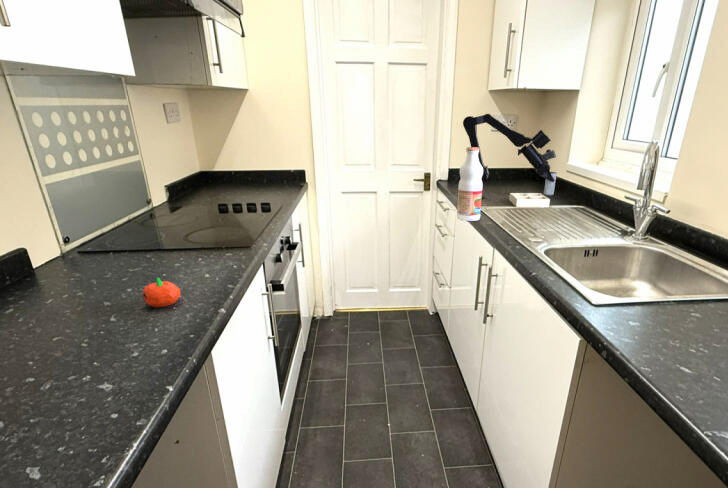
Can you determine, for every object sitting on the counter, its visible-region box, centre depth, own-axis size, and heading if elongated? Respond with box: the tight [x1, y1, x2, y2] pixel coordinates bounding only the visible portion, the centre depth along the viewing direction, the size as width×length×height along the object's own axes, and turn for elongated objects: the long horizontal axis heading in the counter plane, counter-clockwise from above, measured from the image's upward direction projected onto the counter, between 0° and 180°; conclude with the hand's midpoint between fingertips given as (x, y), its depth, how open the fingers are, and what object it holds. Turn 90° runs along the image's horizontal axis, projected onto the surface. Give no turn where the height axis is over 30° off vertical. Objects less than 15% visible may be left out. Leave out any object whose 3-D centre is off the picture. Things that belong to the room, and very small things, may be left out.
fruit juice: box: [456, 146, 483, 222], centre depth 163 cm, size 9×9×28 cm
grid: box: [508, 192, 551, 208], centre depth 195 cm, size 15×15×4 cm
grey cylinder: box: [543, 171, 557, 196], centre depth 197 cm, size 4×4×10 cm
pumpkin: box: [142, 277, 182, 308], centre depth 93 cm, size 7×8×6 cm
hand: (553, 180), depth 196 cm, fingers closed on grey cylinder, 4 cm apart
